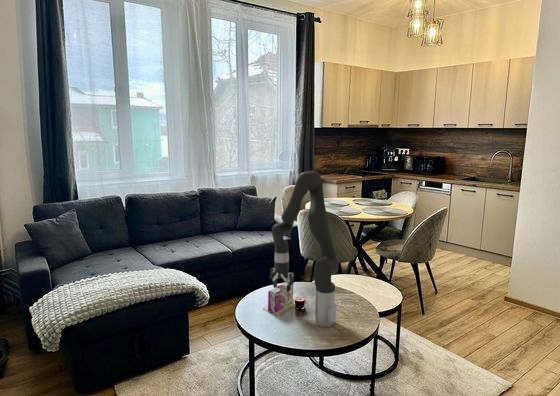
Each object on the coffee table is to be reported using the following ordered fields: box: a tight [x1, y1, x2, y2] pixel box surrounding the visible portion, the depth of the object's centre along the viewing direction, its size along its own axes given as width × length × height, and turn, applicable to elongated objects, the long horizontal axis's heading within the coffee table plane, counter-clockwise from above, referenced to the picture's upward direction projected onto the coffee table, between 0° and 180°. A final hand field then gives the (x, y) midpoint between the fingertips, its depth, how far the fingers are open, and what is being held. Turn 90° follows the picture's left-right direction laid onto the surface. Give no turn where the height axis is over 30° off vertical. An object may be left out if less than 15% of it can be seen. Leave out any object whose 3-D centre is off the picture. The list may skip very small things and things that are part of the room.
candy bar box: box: [267, 281, 294, 314], centre depth 202 cm, size 11×5×16 cm
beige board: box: [262, 298, 295, 317], centre depth 205 cm, size 12×19×1 cm, turn 144°
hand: (281, 289), depth 202 cm, fingers open, 8 cm apart
